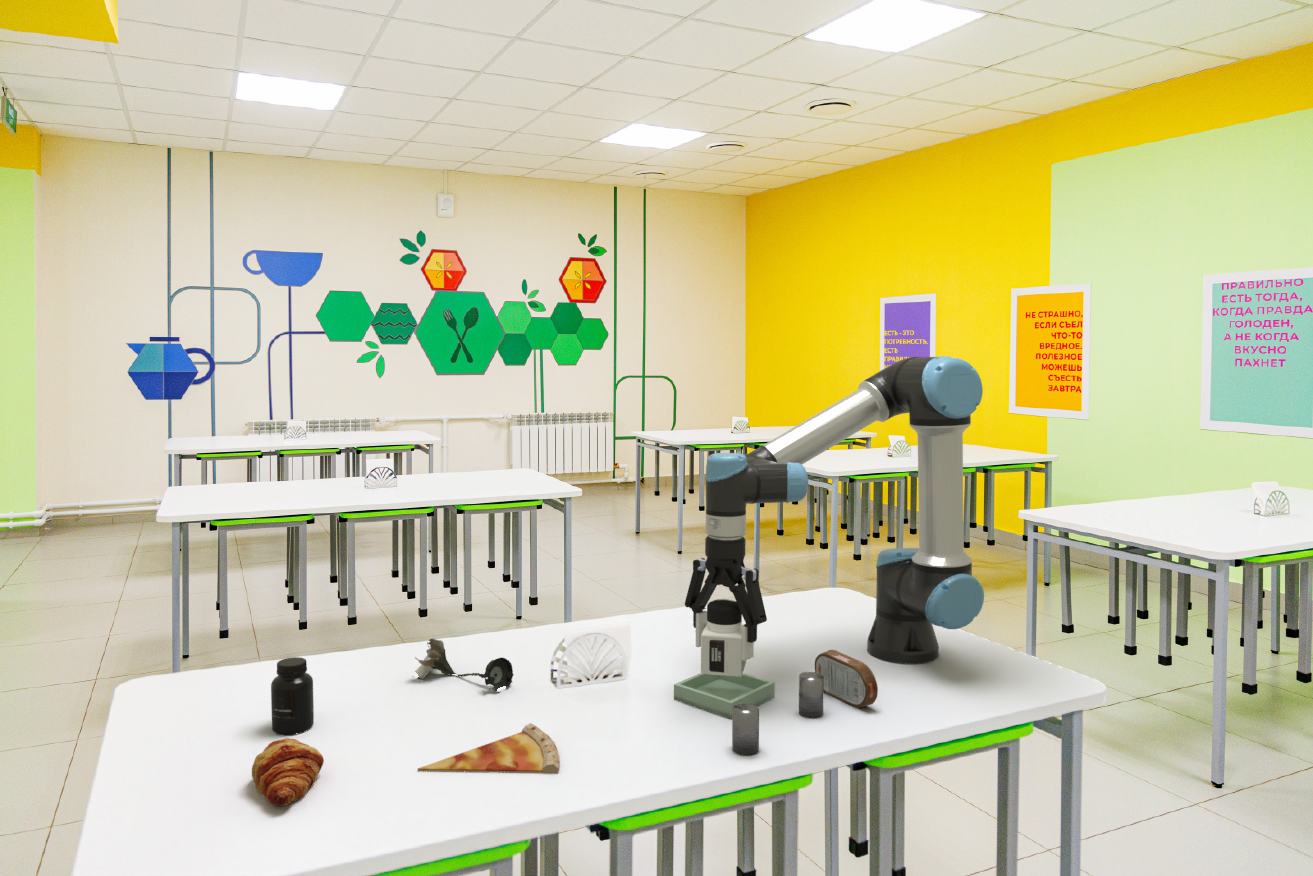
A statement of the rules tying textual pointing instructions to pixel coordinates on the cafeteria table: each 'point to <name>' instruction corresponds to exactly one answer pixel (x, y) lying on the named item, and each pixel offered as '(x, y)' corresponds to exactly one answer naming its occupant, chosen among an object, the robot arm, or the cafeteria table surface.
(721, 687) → the tray
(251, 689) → the cafeteria table surface
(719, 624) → the container
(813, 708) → the post
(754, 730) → the post
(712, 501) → the robot arm
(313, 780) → the croissant
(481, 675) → the artificial flower
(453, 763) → the pizza slice
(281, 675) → the supplement bottle
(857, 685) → the tin
